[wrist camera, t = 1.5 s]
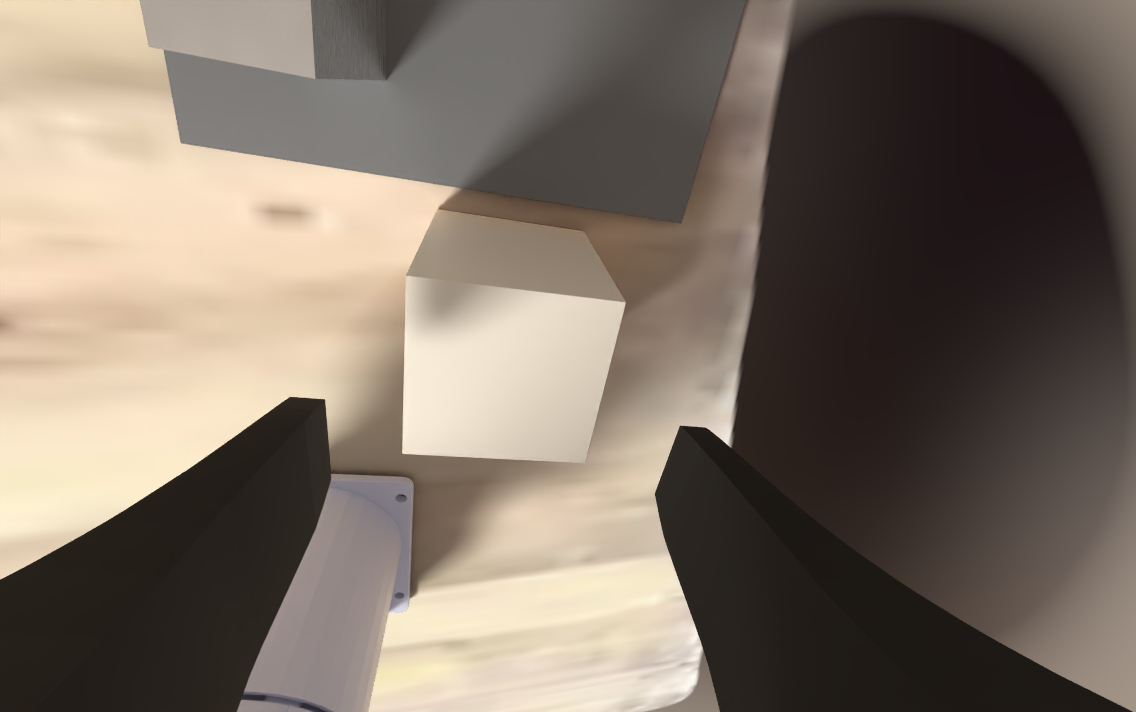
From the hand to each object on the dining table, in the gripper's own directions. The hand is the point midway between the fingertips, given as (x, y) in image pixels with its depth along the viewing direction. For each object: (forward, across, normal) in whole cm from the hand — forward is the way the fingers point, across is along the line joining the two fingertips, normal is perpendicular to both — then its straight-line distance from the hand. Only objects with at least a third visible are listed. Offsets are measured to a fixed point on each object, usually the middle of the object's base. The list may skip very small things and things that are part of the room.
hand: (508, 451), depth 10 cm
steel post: (+9, +6, -7) cm, 13 cm away
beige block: (+10, 0, 0) cm, 10 cm away
